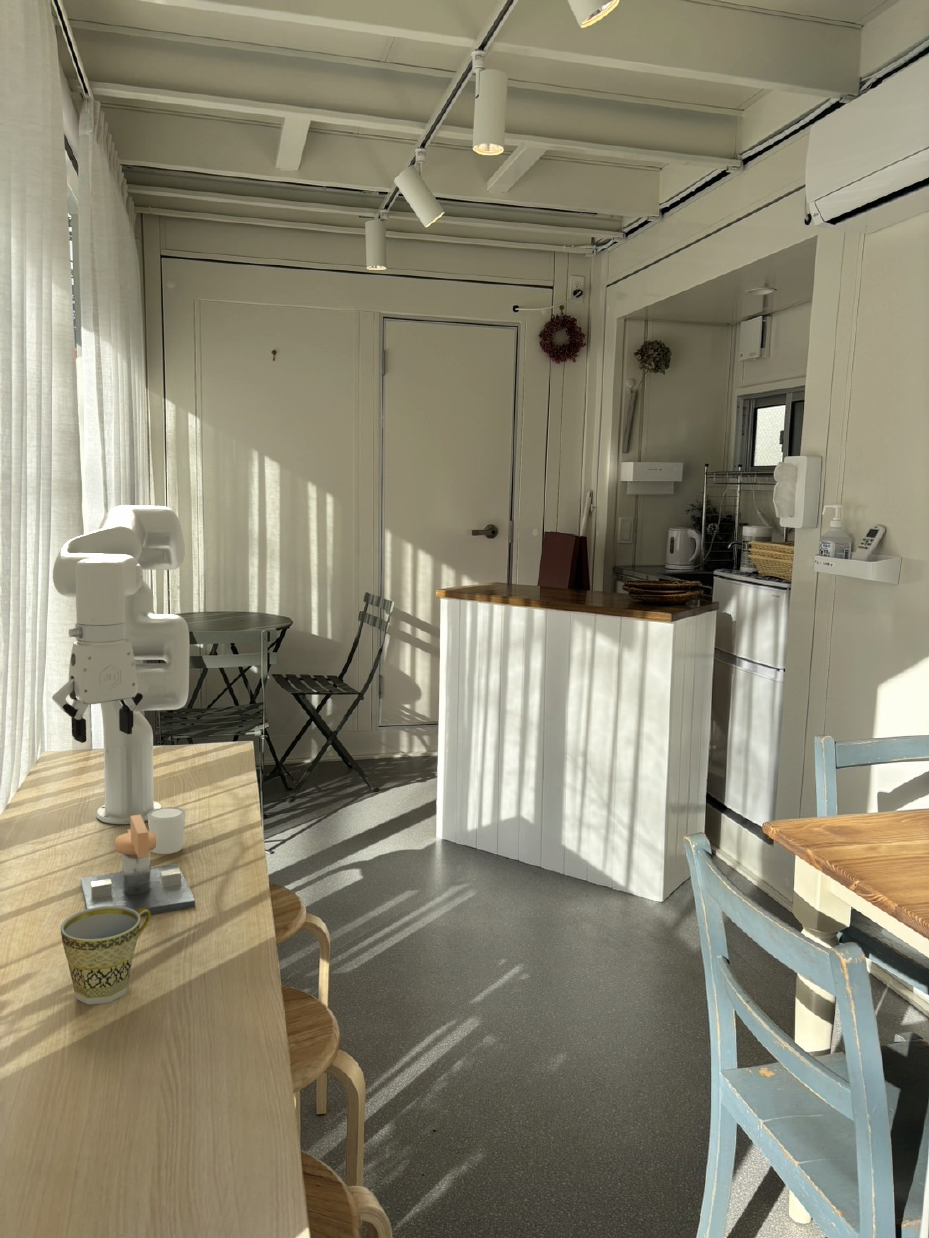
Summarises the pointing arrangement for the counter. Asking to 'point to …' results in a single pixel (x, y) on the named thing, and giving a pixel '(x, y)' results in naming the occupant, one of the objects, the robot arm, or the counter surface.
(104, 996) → the ceramic cup
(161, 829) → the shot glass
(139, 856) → the orange lever handle
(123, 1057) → the counter surface
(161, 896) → the grey plate with posts
